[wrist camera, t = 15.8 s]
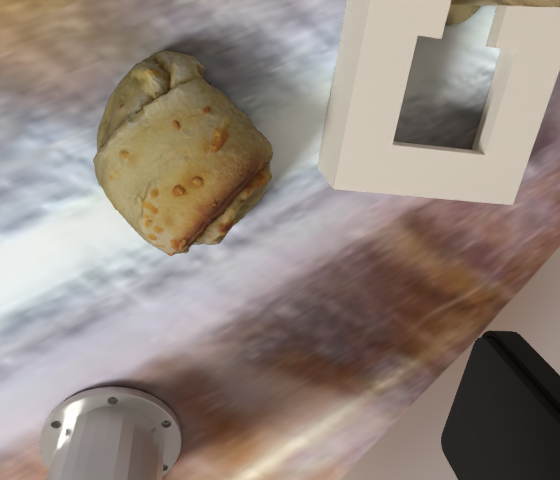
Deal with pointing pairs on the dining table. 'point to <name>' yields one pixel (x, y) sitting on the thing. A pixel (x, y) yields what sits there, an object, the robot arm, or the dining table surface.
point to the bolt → (468, 3)
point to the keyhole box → (390, 91)
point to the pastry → (179, 155)
